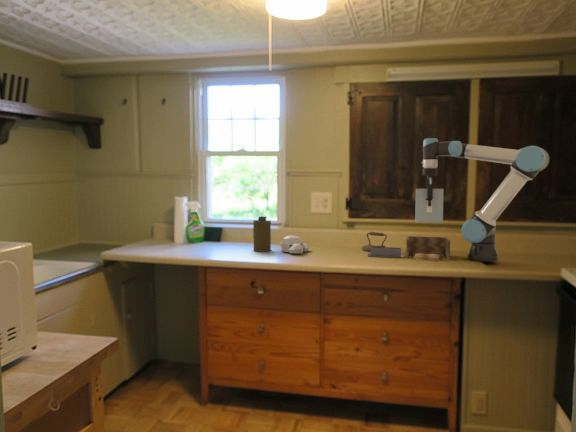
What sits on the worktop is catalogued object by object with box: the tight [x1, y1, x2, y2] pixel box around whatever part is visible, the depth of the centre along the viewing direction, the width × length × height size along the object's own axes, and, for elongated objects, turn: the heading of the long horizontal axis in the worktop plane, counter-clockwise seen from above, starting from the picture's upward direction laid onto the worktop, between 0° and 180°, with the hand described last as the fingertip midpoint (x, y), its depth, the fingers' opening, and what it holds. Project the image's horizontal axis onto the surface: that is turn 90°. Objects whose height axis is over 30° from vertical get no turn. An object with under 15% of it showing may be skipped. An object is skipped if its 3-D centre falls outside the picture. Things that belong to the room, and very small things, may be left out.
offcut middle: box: [413, 256, 440, 261], centre depth 244 cm, size 13×5×1 cm, turn 76°
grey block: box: [367, 246, 405, 259], centre depth 254 cm, size 19×8×5 cm, turn 77°
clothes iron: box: [361, 231, 388, 252], centre depth 268 cm, size 14×10×12 cm
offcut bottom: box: [414, 259, 443, 262], centre depth 244 cm, size 14×5×1 cm, turn 77°
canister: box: [252, 216, 272, 253], centre depth 274 cm, size 11×10×20 cm
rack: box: [405, 235, 451, 261], centre depth 253 cm, size 22×15×10 cm
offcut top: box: [415, 253, 440, 258], centre depth 244 cm, size 12×4×1 cm, turn 69°
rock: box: [279, 234, 311, 254], centre depth 270 cm, size 18×20×10 cm
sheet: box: [414, 188, 445, 224], centre depth 247 cm, size 14×2×18 cm, turn 77°
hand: (429, 212), depth 247 cm, fingers closed on sheet, 2 cm apart
